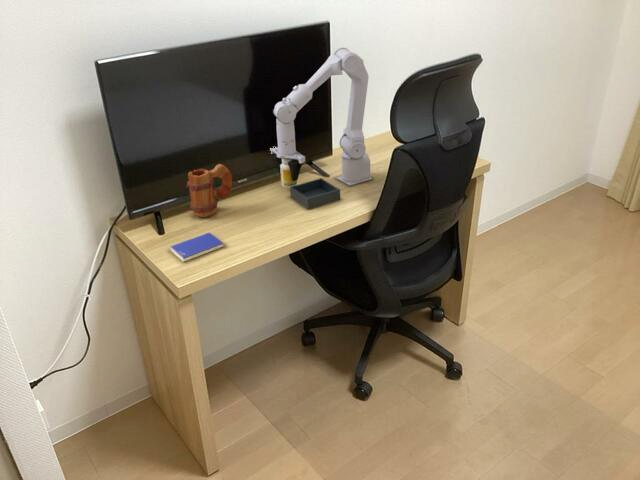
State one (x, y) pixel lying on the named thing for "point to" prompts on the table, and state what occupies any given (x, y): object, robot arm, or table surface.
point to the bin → (315, 193)
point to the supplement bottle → (286, 174)
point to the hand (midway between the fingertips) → (288, 177)
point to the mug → (207, 189)
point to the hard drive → (196, 246)
